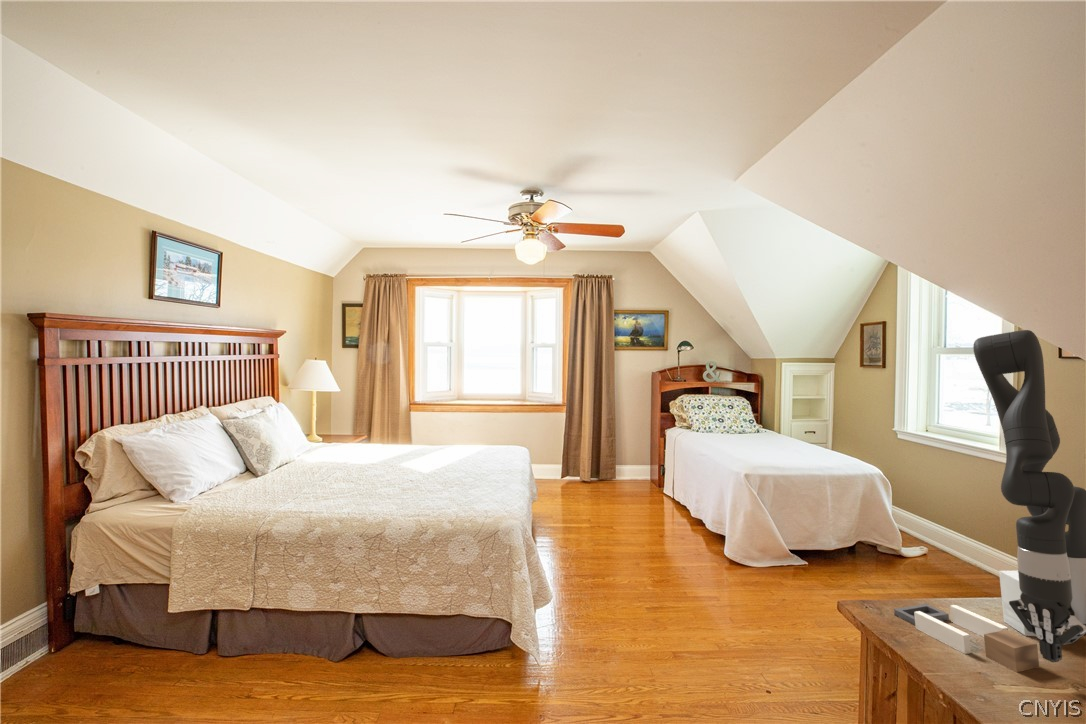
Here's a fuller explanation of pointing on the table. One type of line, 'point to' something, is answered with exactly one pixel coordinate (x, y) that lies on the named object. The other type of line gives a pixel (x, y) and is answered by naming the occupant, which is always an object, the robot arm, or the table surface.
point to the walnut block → (1011, 650)
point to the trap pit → (909, 616)
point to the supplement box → (1010, 593)
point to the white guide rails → (954, 635)
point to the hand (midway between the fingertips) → (1051, 659)
